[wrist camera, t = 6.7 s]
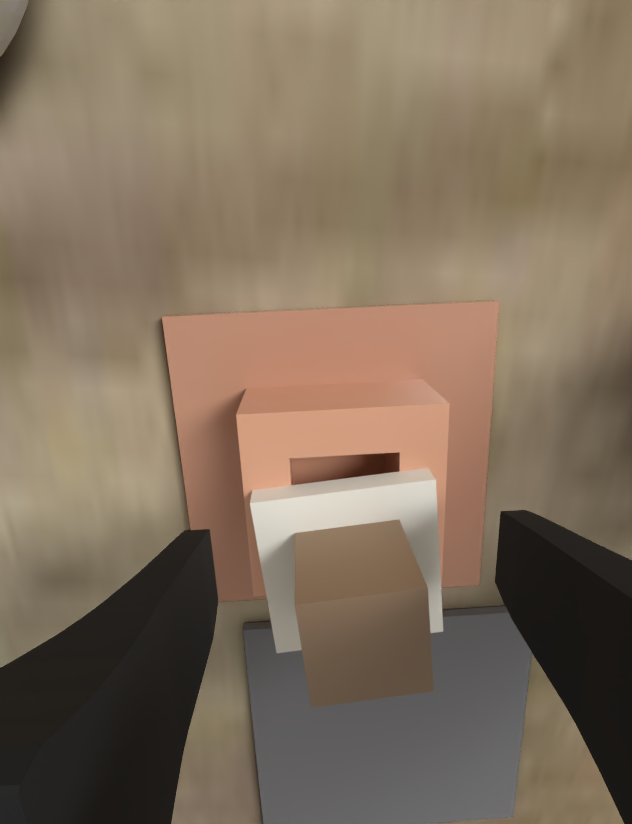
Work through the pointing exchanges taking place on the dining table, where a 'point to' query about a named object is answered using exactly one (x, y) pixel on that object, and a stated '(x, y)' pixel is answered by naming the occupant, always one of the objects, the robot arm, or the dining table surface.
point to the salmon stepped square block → (332, 416)
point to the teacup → (10, 20)
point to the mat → (395, 733)
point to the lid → (354, 581)
